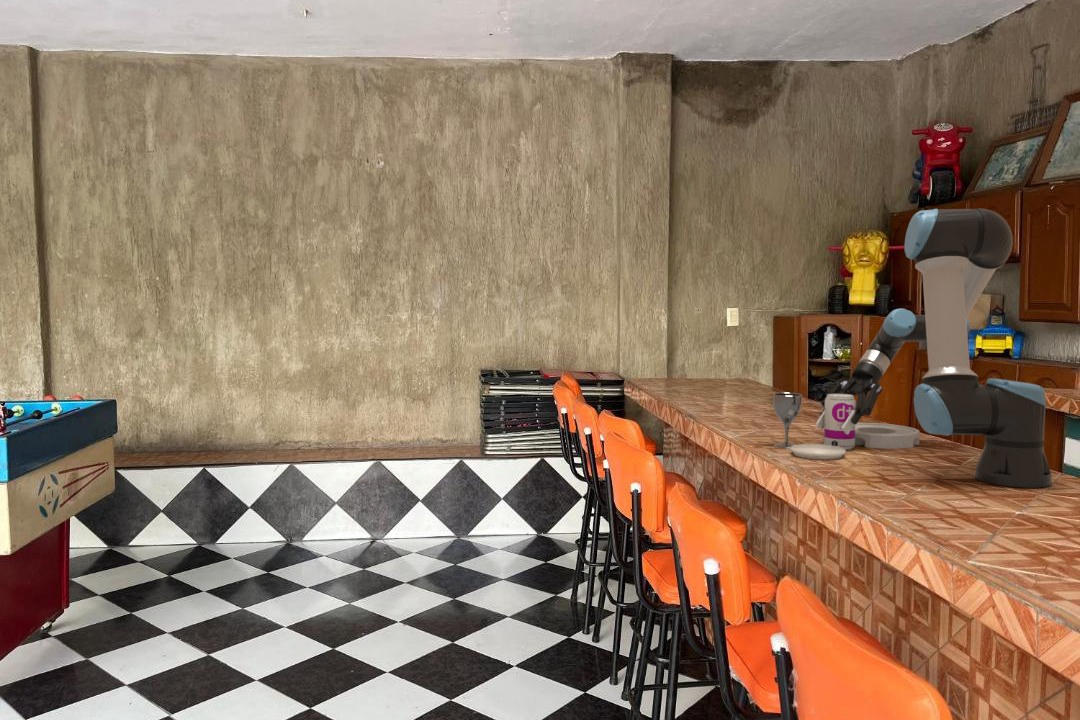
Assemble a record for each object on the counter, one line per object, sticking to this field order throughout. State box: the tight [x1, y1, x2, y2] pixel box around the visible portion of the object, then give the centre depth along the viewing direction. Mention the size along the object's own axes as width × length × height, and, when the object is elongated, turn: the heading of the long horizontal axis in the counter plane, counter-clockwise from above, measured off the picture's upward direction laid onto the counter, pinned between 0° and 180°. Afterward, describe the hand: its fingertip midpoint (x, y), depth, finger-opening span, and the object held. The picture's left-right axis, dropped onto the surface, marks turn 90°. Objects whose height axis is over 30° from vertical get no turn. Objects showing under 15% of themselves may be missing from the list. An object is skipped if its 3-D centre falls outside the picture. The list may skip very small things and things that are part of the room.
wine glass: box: [772, 391, 803, 449], centre depth 227 cm, size 8×8×15 cm
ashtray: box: [855, 422, 921, 450], centre depth 234 cm, size 23×23×4 cm
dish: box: [790, 443, 847, 461], centre depth 214 cm, size 14×14×2 cm
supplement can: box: [823, 393, 857, 451], centre depth 224 cm, size 8×8×15 cm
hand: (831, 428), depth 222 cm, fingers closed on supplement can, 8 cm apart
